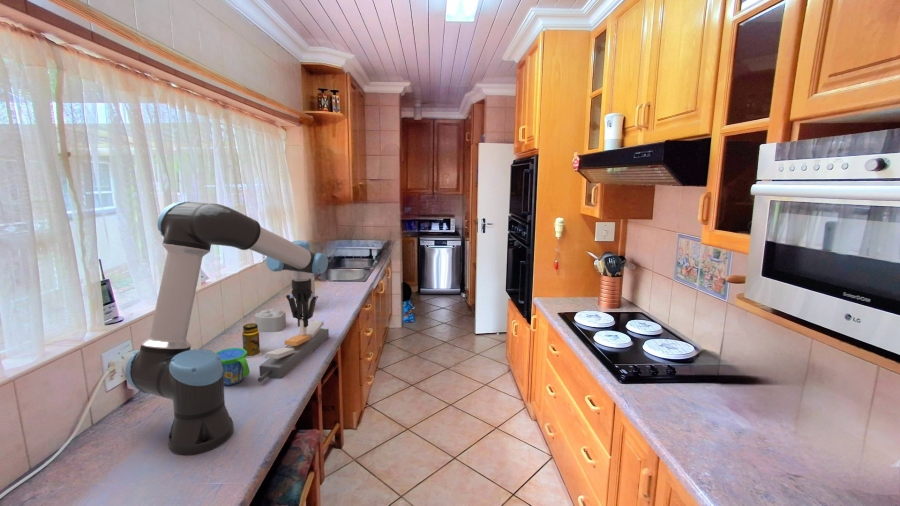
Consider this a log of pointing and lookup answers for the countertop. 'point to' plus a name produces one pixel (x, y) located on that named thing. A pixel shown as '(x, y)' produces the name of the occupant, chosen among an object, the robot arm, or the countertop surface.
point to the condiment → (251, 340)
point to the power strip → (291, 357)
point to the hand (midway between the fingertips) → (303, 334)
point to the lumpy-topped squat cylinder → (270, 320)
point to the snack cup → (234, 365)
